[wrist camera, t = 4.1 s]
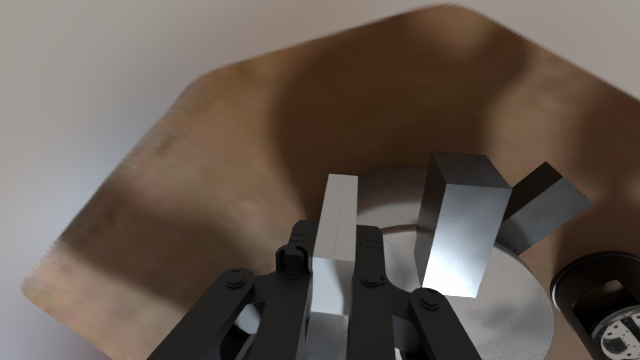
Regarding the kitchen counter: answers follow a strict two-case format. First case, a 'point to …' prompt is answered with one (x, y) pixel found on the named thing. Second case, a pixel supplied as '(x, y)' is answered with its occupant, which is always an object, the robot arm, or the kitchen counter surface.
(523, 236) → the pressure cooker pot
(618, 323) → the french press
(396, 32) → the kitchen counter surface
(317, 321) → the lid
